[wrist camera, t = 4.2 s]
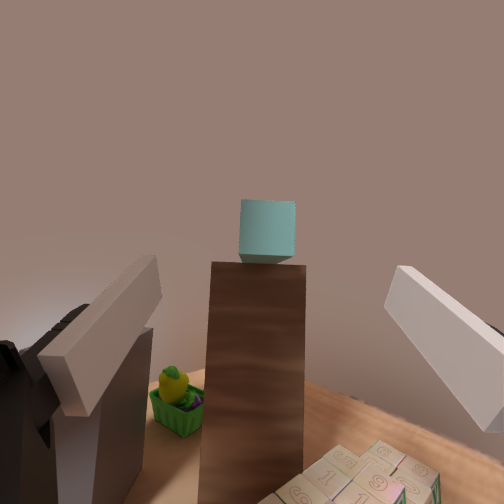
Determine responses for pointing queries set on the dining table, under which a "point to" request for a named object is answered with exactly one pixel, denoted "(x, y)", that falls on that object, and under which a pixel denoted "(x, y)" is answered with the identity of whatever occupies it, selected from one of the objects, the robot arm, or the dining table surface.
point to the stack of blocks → (362, 480)
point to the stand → (253, 382)
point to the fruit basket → (177, 402)
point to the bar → (266, 231)
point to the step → (106, 435)
